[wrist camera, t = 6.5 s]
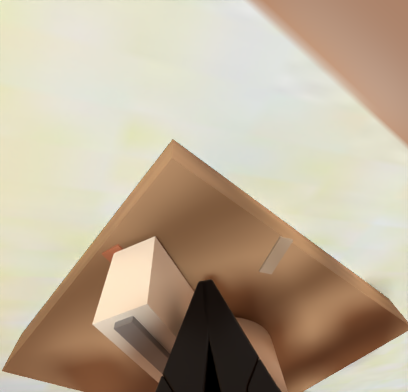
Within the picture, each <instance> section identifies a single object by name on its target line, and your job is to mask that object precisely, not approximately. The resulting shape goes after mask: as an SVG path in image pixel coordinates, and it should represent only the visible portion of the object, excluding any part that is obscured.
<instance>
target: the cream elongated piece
mask: <svg viewBox="0 0 408 392" xmlns="http://www.w3.org/2000/svg"><path fill="white" fill-rule="evenodd" d="M193 294H194V291H193V290H192V288H191V287H190V285H189V284H188V283H187V281H186V280H185V278H184V277H183V275H182V274H181V273H180V271H179V270H178V268H177V267H176V265H175V264H174V262H173V261H172V260H171V258H170V257H169V255H168V254H167V252H166V251H165V250H164V248H163V247H162V245H161V244H160V242H159V241H158V240H157V238H156V237H155V236H154V237H152V238H150V239H147V240H145V241H142V242H140V243H137V244H135V245H133V246H130V247H128V248H125V249H123V250H120V251H118V252H116V253H114V255H113V258H112V261H111V265H110V268H109V271H108V274H107V278H106V281H105V284H104V287H103V291H102V294H101V297H100V300H99V304H98V307H97V310H96V314H95V317H94V320H93V323H92V325H94V326H95V327H96V328H97V329H98V330H99V331H100V332H101V333H103V334H104V335H105V336H106V337H107V338H108V339H109V340H111V341H112V342H113V343H114V344H115V345H116V346H117V347H118V348H120V349H121V350H122V351H123V352H124V353H125V354H126V355H128V356H129V357H130V358H131V359H132V360H133V361H134V362H135V363H137V364H138V365H139V366H140V367H141V368H142V369H143V370H144V371H146V372H147V373H148V374H149V375H150V376H151V377H152V378H154V379H155V380H156V381H157V382H158V383H159V381H160V378H161V376H163V374H162V373H163V371H164V368H165V366H166V363H167V361H168V358H169V355H170V353H171V350H172V348H173V345H174V343H175V340H176V337H177V335H178V332H179V330H180V327H181V325H182V322H183V319H184V317H185V314H186V312H187V309H188V307H189V304H190V302H191V299H192V296H193ZM235 318H236V319H237V321H238V323H239V324H240V326H241V328H242V329H243V331H244V333H245V334H246V336H247V338H248V339H249V341H250V343H251V344H252V346H253V348H254V349H255V351H256V353H257V354H258V356H259V358H260V359H261V361H262V362H263V364H264V365H265V367H266V369H267V370H268V372H269V374H270V375H271V377H272V378H273V380H274V381H275V383H276V384H277V386H278V387H279V389H280V390H281V391H282V392H288V391H287V387H286V384H285V381H284V378H283V375H282V372H281V368H280V365H279V362H278V359H277V356H276V353H275V349H274V346H273V343H272V340H271V337H270V335H269V333H268V332H267V330H266V329H264V328H263V327H262V326H261V325H259V324H257V323H255V322H253V321H250V320H247V319H243V318H237V317H235Z"/></svg>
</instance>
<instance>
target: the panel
mask: <svg viewBox="0 0 408 392" xmlns="http://www.w3.org/2000/svg"><path fill="white" fill-rule="evenodd" d="M154 236H155V237H156V238H157V240H158V241H159V242H160V244H161V245H162V247H163V248H164V250H165V251H166V252H167V254H168V255H169V257H170V258H171V260H172V261H173V262H174V264H175V265H176V267H177V268H178V270H179V271H180V273H181V274H182V275H183V277H184V278H185V280H186V281H187V283H188V284H189V285H190V287H191V288H192V290H193V291H195V289H196V286H197V284H198V282H199V281H203V280H208V279H212V280H213V281H214V283H215V285H216V286H217V288H218V290H219V291H220V293H221V295H222V296H223V298H224V300H225V301H226V303H227V305H228V306H229V308H230V310H231V311H232V313H233V315H234V316H235V317H237V318H243V319H247V320H250V321H253V322H255V323H257V324H259V325H261V326H262V327H263V328H264V329H266V330H267V332H268V333H269V335H270V337H271V340H272V343H273V346H274V349H275V353H276V356H277V359H278V362H279V365H280V368H281V372H282V375H283V378H284V381H285V384H286V387H287V391H288V392H303V391H304V390H306V389H308V388H310V387H311V386H313V385H315V384H317V383H318V382H320V381H322V380H324V379H325V378H327V377H329V376H330V375H332V374H334V373H336V372H337V371H339V370H341V369H343V368H344V367H346V366H348V365H349V364H351V363H353V362H355V361H356V360H358V359H360V358H362V357H363V356H365V355H367V354H368V353H370V352H372V351H374V350H375V349H377V348H379V347H381V346H382V345H384V344H386V343H388V342H389V341H391V340H393V339H394V338H396V337H398V336H400V335H401V334H403V333H405V332H407V331H408V322H407V320H406V319H405V318H404V317H403V315H402V314H401V313H400V312H399V311H398V309H397V308H396V307H395V306H394V305H393V303H392V302H391V301H390V300H389V299H388V298H387V297H386V296H384V295H383V294H382V293H380V292H379V291H377V290H376V289H375V288H373V287H372V286H371V285H369V284H368V283H367V282H365V281H364V280H363V279H361V278H360V277H359V276H357V275H356V274H354V273H353V272H352V271H350V270H349V269H348V268H346V267H345V266H344V265H342V264H341V263H340V262H338V261H337V260H336V259H334V258H333V257H331V256H330V255H329V254H327V253H326V252H325V251H323V250H322V249H321V248H319V247H318V246H317V245H315V244H314V243H313V242H311V241H310V240H308V239H307V238H306V237H304V236H303V235H302V234H300V233H299V232H298V231H296V230H295V229H294V228H292V227H291V226H290V225H288V224H287V223H285V222H284V221H283V220H281V219H280V218H279V217H277V216H276V215H275V214H273V213H272V212H271V211H269V210H268V209H267V208H265V207H264V206H263V205H261V204H260V203H258V202H257V201H256V200H254V199H253V198H252V197H250V196H249V195H248V194H246V193H245V192H244V191H242V190H241V189H240V188H238V187H237V186H235V185H234V184H233V183H231V182H230V181H229V180H227V179H226V178H225V177H223V176H222V175H221V174H219V173H218V172H217V171H215V170H214V169H212V168H211V167H210V166H208V165H207V164H206V163H204V162H203V161H202V160H200V159H199V158H198V157H196V156H195V155H194V154H192V153H191V152H189V151H188V150H187V149H185V148H184V147H183V146H181V145H180V144H179V143H177V142H176V141H175V140H172V141H171V142H170V144H169V145H168V146H167V147H166V149H165V150H164V151H163V153H162V154H161V155H160V157H159V158H158V159H157V160H156V162H155V163H154V164H153V166H152V167H151V168H150V169H149V171H148V172H147V173H146V175H145V176H144V177H143V178H142V180H141V181H140V182H139V184H138V185H137V186H136V187H135V189H134V190H133V191H132V193H131V194H130V195H129V196H128V198H127V199H126V200H125V202H124V203H123V204H122V205H121V207H120V208H119V209H118V211H117V212H116V213H115V215H114V216H113V217H112V218H111V220H110V221H109V222H108V224H107V225H106V226H105V227H104V229H103V230H102V231H101V233H100V234H99V235H98V236H97V238H96V239H95V240H94V242H93V243H92V244H91V245H90V247H89V248H88V249H87V251H86V252H85V253H84V254H83V256H82V257H81V258H80V260H79V261H78V262H77V263H76V265H75V266H74V267H73V269H72V270H71V271H70V273H69V274H68V275H67V276H66V278H65V279H64V280H63V282H62V283H61V284H60V285H59V287H58V288H57V289H56V291H55V292H54V293H53V294H52V296H51V297H50V298H49V300H48V301H47V302H46V303H45V305H44V306H43V307H42V309H41V310H40V311H39V312H38V314H37V315H36V316H35V318H34V319H33V320H32V321H31V323H30V324H29V325H28V327H27V328H26V329H25V330H24V332H23V333H22V334H21V336H20V338H19V340H18V342H17V344H16V345H15V347H14V349H13V351H12V353H11V355H10V357H9V358H8V360H7V362H6V364H5V366H4V368H3V370H2V371H4V372H8V373H12V374H16V375H20V376H24V377H28V378H32V379H36V380H40V381H44V382H48V383H52V384H56V385H60V386H63V387H67V388H71V389H75V390H79V391H83V392H155V391H156V388H157V386H158V382H157V381H156V380H155V379H154V378H152V377H151V376H150V375H149V374H148V373H147V372H146V371H144V370H143V369H142V368H141V367H140V366H139V365H138V364H137V363H135V362H134V361H133V360H132V359H131V358H130V357H129V356H128V355H126V354H125V353H124V352H123V351H122V350H121V349H120V348H118V347H117V346H116V345H115V344H114V343H113V342H112V341H111V340H109V339H108V338H107V337H106V336H105V335H104V334H103V333H101V332H100V331H99V330H98V329H97V328H96V327H95V326H94V325H92V323H93V320H94V317H95V314H96V310H97V307H98V304H99V300H100V297H101V294H102V291H103V287H104V284H105V281H106V278H107V274H108V271H109V268H110V265H111V261H112V258H113V255H114V253H116V252H118V251H120V250H123V249H125V248H128V247H130V246H133V245H135V244H137V243H140V242H142V241H145V240H147V239H150V238H152V237H154Z"/></svg>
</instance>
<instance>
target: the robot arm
mask: <svg viewBox="0 0 408 392" xmlns="http://www.w3.org/2000/svg"><path fill="white" fill-rule="evenodd" d="M162 374H163V376H161V378H160V381H159V383H158V386H157V388H156V391H155V392H282V391H281V390H280V389H279V387H278V386H277V384H276V383H275V381H274V380H273V378H272V377H271V375H270V374H269V372H268V370H267V369H266V367H265V365H264V364H263V362H262V361H261V359H260V358H259V356H258V354H257V353H256V351H255V349H254V348H253V346H252V344H251V343H250V341H249V339H248V338H247V336H246V334H245V333H244V331H243V329H242V328H241V326H240V324H239V323H238V321H237V319H236V318H235V316H234V315H233V313H232V311H231V310H230V308H229V306H228V305H227V303H226V301H225V300H224V298H223V296H222V295H221V293H220V291H219V290H218V288H217V286H216V285H215V283H214V281H213V280H212V279H208V280H203V281H199V282H198V284H197V286H196V289H195V291H194V294H193V296H192V299H191V302H190V304H189V307H188V309H187V312H186V314H185V317H184V319H183V322H182V325H181V327H180V330H179V332H178V335H177V337H176V340H175V343H174V345H173V348H172V350H171V353H170V355H169V358H168V361H167V363H166V366H165V368H164V371H163V373H162Z"/></svg>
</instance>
